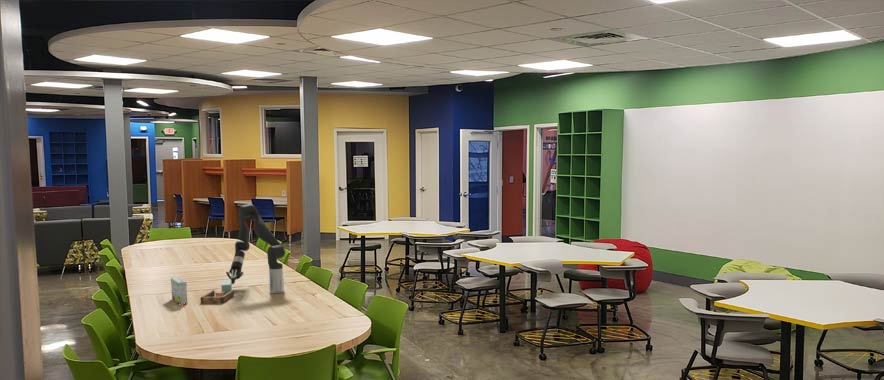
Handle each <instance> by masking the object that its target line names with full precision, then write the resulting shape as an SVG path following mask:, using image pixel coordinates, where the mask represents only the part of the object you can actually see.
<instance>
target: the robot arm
mask: <svg viewBox="0 0 884 380" xmlns="http://www.w3.org/2000/svg"><path fill="white" fill-rule="evenodd" d="M250 217H252V219H253V220H254V226H253V228H254V229H253V231H254V232H255V234H256V235H257V237H258V238H259V239H260V240H261V241H263V242H265V243H267V244H268V245H269V247H268V248H267V252H266V254H267V264H268V268H269V269H268V275H269V277H268V278H269V281H268V282H269V293H270V294H282V293H284V291H285V282H284V281H285V278H284V277H283V276H284V271H283V263H281V262H278V259H281V258H282V259H283V258H284V257H285V255H286V250H285V248H284V246H283V245H282V244H281V243H280V241H278V240H277V238H276V237H275V236H274V234H273V233H272V232H271V230H270V229H269V227H268V225H267V224H266V223H265V222H264V220H263V219H262V217H261V215H260V214H259V212H258V210H257V207H255V205H254V204H252V203H249V204H244V205H240V206H239V208H238V223H239V232H238V240H237V241H236V242H235V243H234V250H235V252H234V256H233V259H232V262H231V266H230V269H229V271H226V272H225V274H226V276H227V277H228V279H229V280H230V281H232V285H234V284H235V283H236V280H239V279H240V278H241V277H243V275H244V272H243V271H242V269H243V265H244V260H245V255H246V253H245V252H247V251H249V250H250V245H251V244H250V241H249V240H250V239H249V235H250V229H249V226H248V225H247V223H246V218H250Z"/></svg>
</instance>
